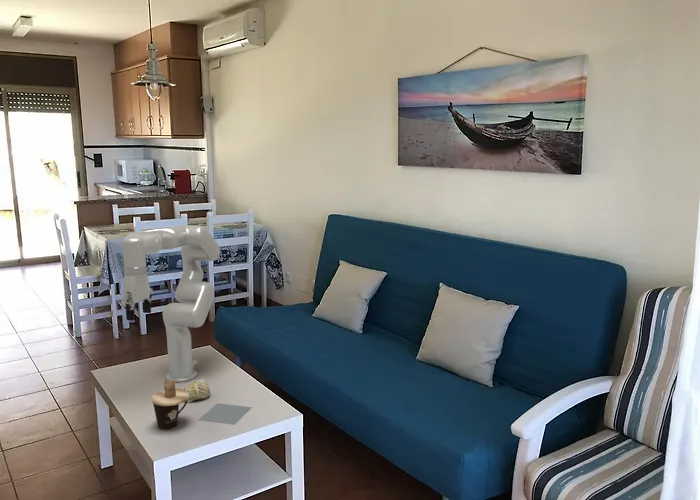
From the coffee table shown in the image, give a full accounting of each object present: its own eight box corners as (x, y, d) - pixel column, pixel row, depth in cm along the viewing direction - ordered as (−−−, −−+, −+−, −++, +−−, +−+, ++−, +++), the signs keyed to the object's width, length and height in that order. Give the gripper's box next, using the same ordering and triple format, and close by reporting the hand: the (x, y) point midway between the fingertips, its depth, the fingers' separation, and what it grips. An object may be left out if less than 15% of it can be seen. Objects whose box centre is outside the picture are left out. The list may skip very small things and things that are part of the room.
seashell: (174, 403, 219) (179, 375, 222) (188, 404, 228) (192, 378, 231) (198, 404, 216) (202, 377, 219) (212, 406, 225) (215, 379, 228)
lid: (165, 389, 208) (163, 373, 207) (195, 393, 205) (194, 376, 204) (144, 404, 197) (143, 387, 196) (176, 407, 193) (175, 390, 192)
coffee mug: (156, 434, 196) (154, 406, 195) (153, 423, 204) (151, 396, 202) (191, 427, 201) (189, 400, 199) (187, 417, 209) (186, 390, 207)
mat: (217, 404, 219) (217, 403, 219) (252, 408, 215) (252, 407, 215) (198, 421, 205) (198, 419, 205) (234, 426, 202) (234, 424, 202)
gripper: (141, 265, 223) (144, 309, 226) (111, 275, 206) (115, 322, 209) (158, 266, 221) (161, 310, 224) (129, 276, 204) (133, 323, 207)
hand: (139, 316), depth 217 cm, fingers open, 9 cm apart
